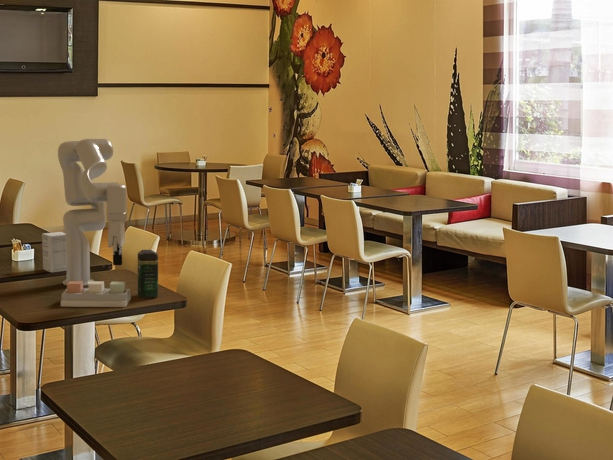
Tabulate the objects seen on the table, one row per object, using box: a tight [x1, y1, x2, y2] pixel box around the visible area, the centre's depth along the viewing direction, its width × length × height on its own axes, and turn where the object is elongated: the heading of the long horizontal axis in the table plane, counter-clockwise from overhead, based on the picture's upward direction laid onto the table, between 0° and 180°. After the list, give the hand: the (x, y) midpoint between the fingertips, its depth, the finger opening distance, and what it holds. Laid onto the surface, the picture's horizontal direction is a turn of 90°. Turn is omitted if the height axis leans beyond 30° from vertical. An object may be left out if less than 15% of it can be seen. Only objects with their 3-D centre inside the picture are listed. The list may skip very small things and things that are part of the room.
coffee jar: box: [137, 249, 159, 299], centre depth 328 cm, size 10×8×19 cm
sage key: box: [109, 281, 126, 293], centre depth 316 cm, size 5×5×4 cm
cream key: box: [87, 280, 105, 293], centre depth 315 cm, size 5×5×4 cm
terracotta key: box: [66, 281, 84, 293], centre depth 315 cm, size 5×5×4 cm
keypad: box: [60, 287, 132, 308], centre depth 316 cm, size 13×24×4 cm, turn 93°
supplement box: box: [41, 231, 67, 273], centre depth 375 cm, size 10×9×17 cm
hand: (117, 264), depth 314 cm, fingers closed
